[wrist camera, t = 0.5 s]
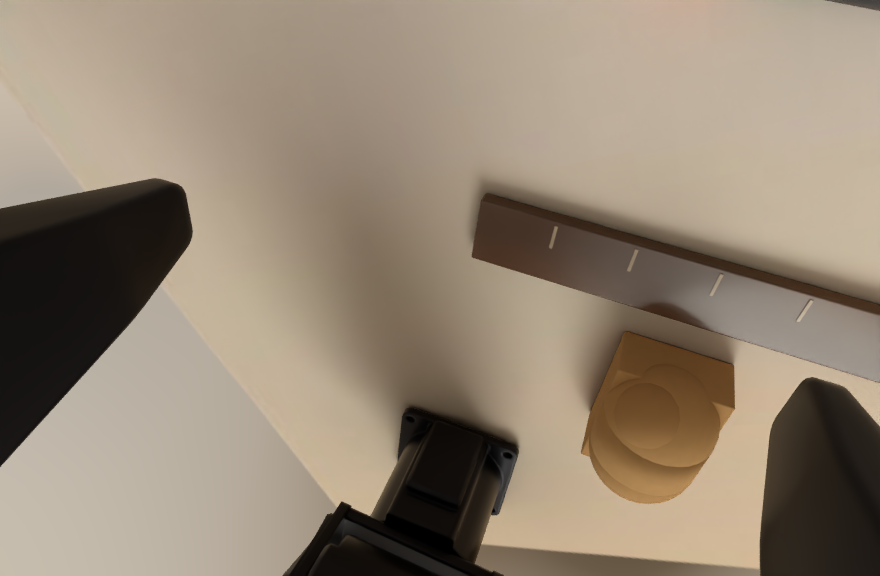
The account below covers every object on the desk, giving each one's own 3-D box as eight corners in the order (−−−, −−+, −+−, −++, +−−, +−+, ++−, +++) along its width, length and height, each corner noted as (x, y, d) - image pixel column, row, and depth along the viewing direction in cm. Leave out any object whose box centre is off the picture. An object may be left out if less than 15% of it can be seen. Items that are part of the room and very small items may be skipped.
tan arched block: (680, 452, 28) (674, 540, 25) (586, 419, 29) (568, 500, 25) (739, 358, 24) (741, 449, 20) (628, 323, 25) (612, 405, 21)
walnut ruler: (950, 394, 22) (955, 407, 21) (475, 250, 25) (470, 258, 25) (1006, 340, 20) (1013, 353, 19) (485, 192, 23) (480, 200, 23)
